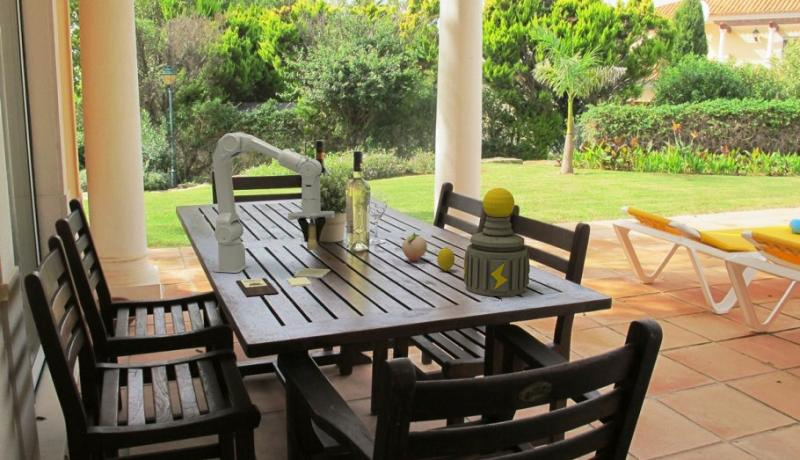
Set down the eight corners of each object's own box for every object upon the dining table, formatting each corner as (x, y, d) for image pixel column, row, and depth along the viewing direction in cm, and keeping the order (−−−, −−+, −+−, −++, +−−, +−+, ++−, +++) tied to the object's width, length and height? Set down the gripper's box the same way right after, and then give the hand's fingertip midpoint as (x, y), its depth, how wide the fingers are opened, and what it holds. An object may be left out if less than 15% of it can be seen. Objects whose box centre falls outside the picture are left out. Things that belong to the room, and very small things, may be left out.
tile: (286, 278, 224) (291, 285, 217) (305, 277, 226) (311, 283, 219) (286, 282, 224) (291, 289, 217) (305, 280, 226) (311, 287, 219)
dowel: (308, 247, 233) (308, 222, 232) (318, 248, 233) (317, 223, 231) (305, 249, 230) (305, 224, 229) (315, 250, 230) (314, 225, 228)
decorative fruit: (424, 265, 246) (424, 235, 244) (400, 263, 248) (400, 234, 246) (428, 259, 255) (429, 230, 253) (405, 257, 257) (405, 229, 255)
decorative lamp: (462, 280, 226) (464, 183, 221) (523, 281, 226) (527, 184, 220) (465, 297, 208) (468, 191, 202) (532, 298, 207) (537, 192, 202)
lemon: (445, 268, 242) (445, 244, 240) (457, 271, 238) (458, 247, 236) (433, 271, 238) (433, 246, 236) (446, 274, 234) (446, 249, 233)
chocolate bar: (246, 295, 206) (235, 280, 222) (246, 298, 206) (236, 283, 222) (278, 292, 209) (265, 278, 225) (278, 295, 209) (265, 281, 225)
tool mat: (303, 269, 239) (303, 268, 239) (330, 270, 237) (330, 269, 237) (293, 276, 229) (293, 275, 229) (321, 278, 228) (321, 276, 228)
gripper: (290, 201, 223) (291, 245, 225) (337, 199, 227) (337, 242, 230) (286, 198, 229) (286, 240, 232) (331, 196, 234) (331, 238, 236)
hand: (311, 241), depth 231 cm, fingers closed on dowel, 3 cm apart
